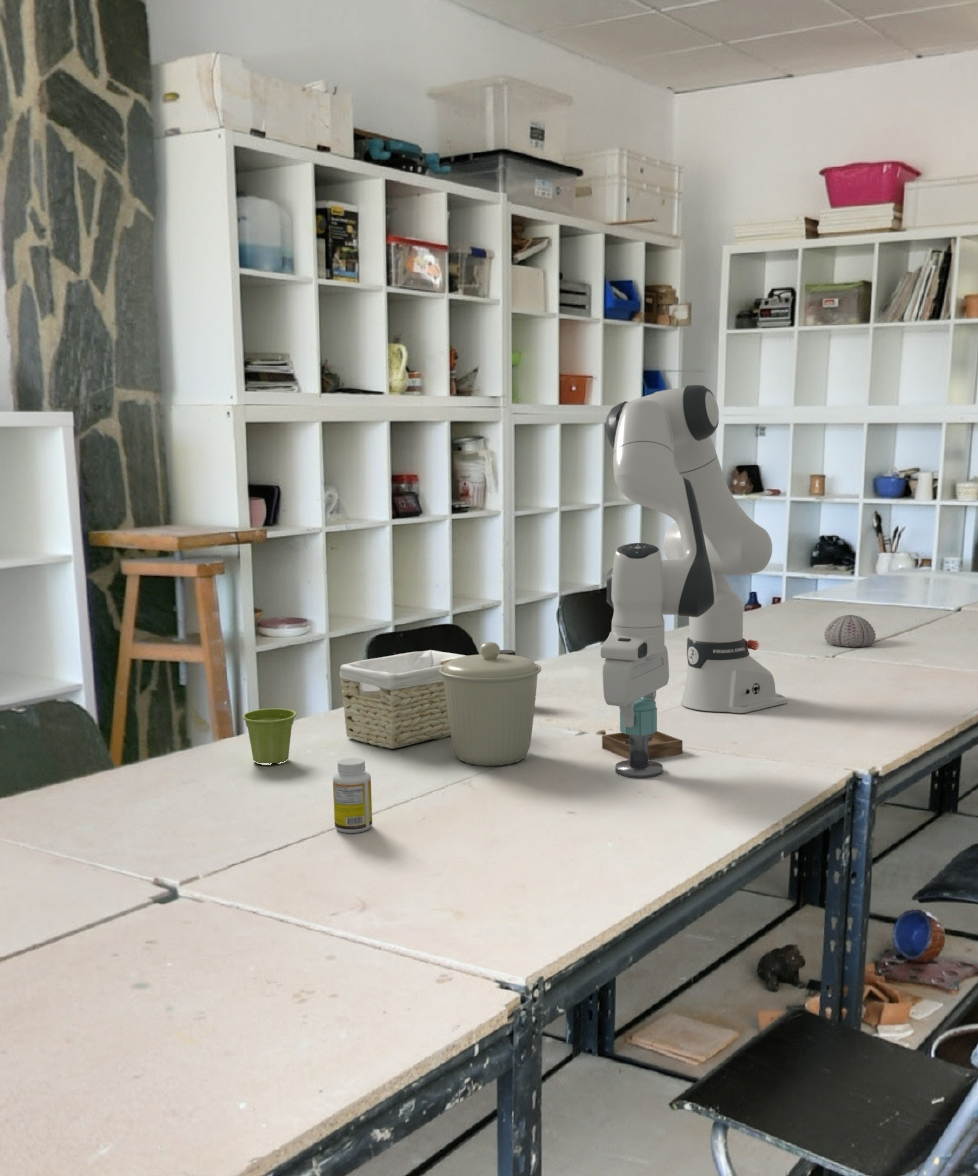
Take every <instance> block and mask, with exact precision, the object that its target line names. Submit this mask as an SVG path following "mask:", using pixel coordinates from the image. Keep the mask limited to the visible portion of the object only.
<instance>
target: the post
mask: <svg viewBox="0 0 978 1176" xmlns="http://www.w3.org/2000/svg"><path fill="white" fill-rule="evenodd" d="M648 741H652V736H648V735H641V736H638V735H629V739H626V744H627V745H629V759H626V760H621V761H619V762H616V764H615V767H614V768H615V769H614V771H615V773H616V774H617V775H618V776H620V777H625V778H628V779H629V778H632V779H649V778H657V777H659V776H661V775H662V774H663V771H664V767H663V765H662V763H660V762H657V761H655V760H654V761H653V760H650V759H648Z"/></svg>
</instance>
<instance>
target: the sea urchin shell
mask: <svg viewBox="0 0 978 1176" xmlns="http://www.w3.org/2000/svg"><path fill="white" fill-rule="evenodd" d="M875 632H876V630H874V627H873V626H872V624H871V623H870V622H869V621H868V620H866V619H865V618H863V617H861V616H859V615H854V614H846V615H841V616H837V618H835V619H833V620H832V621H831V622H830V623H829V624H828V625H827V627H826V628H825V630H824V635H823V637H824V640H825V641H826V643H828V644H829V645H832V646H836V647H845V648H858V647H859V648H863V647H867V646H868V647H869V646H871V645H872V644H873V643H874V642H875V640H876V635H877V634H876V633H875Z"/></svg>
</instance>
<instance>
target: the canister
mask: <svg viewBox="0 0 978 1176" xmlns="http://www.w3.org/2000/svg"><path fill="white" fill-rule="evenodd" d="M500 650H501V649H500V646H499V644H497V643H496V642H494V641H488V642H487V641H486V642H484V643H482V644H481V645H480V648H479V653H480V654H471V655H465V656H464V657H459V658H455V659H453V660H451V661H449V662H447V663H446V665H443V666H442V667H440V668H439V673H440V674H441V675H442V676H443V681H444V690H445V698H446V705H447V713H448V721H449V727H450V734H451V735H450V739H451V740H450V741H451V745H452V749H453V752H454V753H455V755H456V757H457V758H458V759H459V760H461V761H463V762H465V763H468V764H471V765H475V766H486V767H487V766H489V767H490V766H491V767H493V766H505V765H509V764H513V763H516V762H519V761H521V760H523V759H524V758H525V757H526V755H528V752H529V750H530V748H531V741H532V734H533V725H534V716H535V709H536V708H535V707H536V706H535V705H536V697H537V687H538V685H537V684H538V675H539V674H540V673H541V672H542V666H541V665H540V664H538V663H535V662H534V661H533V660H532V659H530V658H527V657H525V656H522V655H516V654H515V655H507V654H499V652H500Z"/></svg>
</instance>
